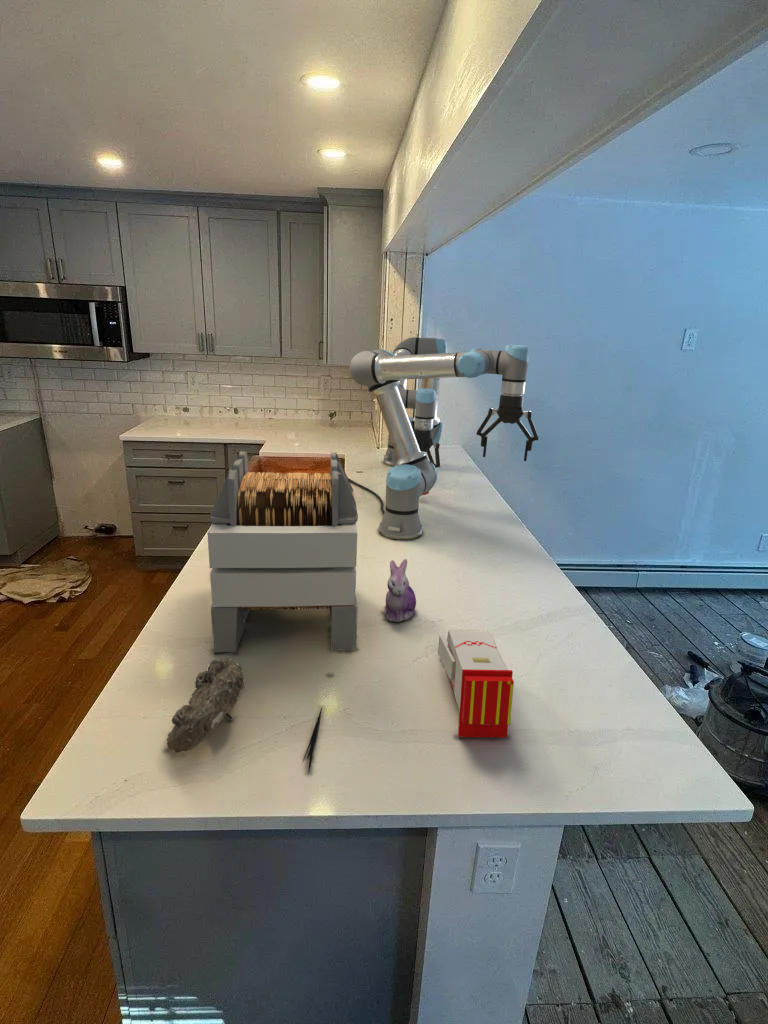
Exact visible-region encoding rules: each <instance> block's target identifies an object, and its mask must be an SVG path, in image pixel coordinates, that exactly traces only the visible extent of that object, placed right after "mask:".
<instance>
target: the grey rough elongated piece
mask: <svg viewBox="0 0 768 1024" xmlns="http://www.w3.org/2000/svg"><path fill="white" fill-rule="evenodd" d="M243 670H244V669H243V667H242V665H240V664H237V662H236V661H235V660H234V659H232V658H231V659H227V658H226V659H224V660H223V661H222V660H217V659H212V660H211V661H210V663H209V665H208V666H207V671H201V672H199V673H198V674H197V675H196V676H195V680H194V684H195V685H194V687H195V689H194V690H193V693H192V694H191V697H190V698H189V700H188V704H184V705H182V706H181V707H180V709H177V710H176V711H175V713H174V715H173V716H172V718H171V723H172V724H173V727H172V730H171V731H170V732H168V734H167V738H166V741H167V742H166V745H167V749H168V750H169V751H173V752H174V753H176V754H178V753H182V752H188V751H189V752H192V751H193V750H195V748H196V747H197V746H199V744H200V743H201V742H203V741H204V740H205V739H206V738H207V737H208V736H209V735H210V734H211V733H212V732H214V730H215V729H217V727H218V726H219V724H220V722H221V721H222V720H223V719H224V718H225V716H226V717H227V719H229V720H233V717H232V715H230V714H229V710H230V709H231V708H234V706H235V704H236V703H237V702H238V699H239V697H240V695H241V693H242V691H243V690H245V689H244V688H245V675H244V671H243Z"/></svg>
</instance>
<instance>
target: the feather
mask: <svg viewBox="0 0 768 1024" xmlns="http://www.w3.org/2000/svg"><path fill="white" fill-rule="evenodd" d="M329 675H330V676H331V675H332V674H331V673H330V674H329ZM322 710H323V707H321V708H320V710H319V713H318V716H317V719H316V723H315V725H314V728H313V731H312V733H311V737H310V739H309V742H308V745H307V748H306V751H305V754H304V757H303V760H302V763H301V767H302V765H303V763H304V761H305V758H308V759H309V760H308V762H307V763H308V764H307V766H308V771H310V770H311V766H312V765H311V764H312V760H313V757H315V756H314V755H315V751H316V749H315V746H317V739H318V733H319V729H320V722H321V717H322V712H323V711H322ZM313 754H314V755H313ZM306 755H307V757H306Z"/></svg>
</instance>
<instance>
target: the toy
mask: <svg viewBox="0 0 768 1024" xmlns="http://www.w3.org/2000/svg"><path fill="white" fill-rule="evenodd" d="M446 640H447V643H446V641H445V639H444V636H443V635H442V634H439V637H438V646H437V656H438V657H439V659H440V661H441V663H442V666H443V668H444V670H445V672H446V674H447V677H448V679H449V681H450V684H451V687H452V690H453V693H454V697H455V701H456V705H457V708H458V711H459V714H458V715H459V716H458V730H457V731H458V732H457V737H458V738H508V731H509V726H510V725H511V717H512V707H513V697H514V696H513V695H514V684H515V680H514V679H513V673H514V671H513V670H512V669H508V667H507V665H506V662H505V661H504V659H503V658H502V655H501V653H500V651H499V649H498V647H497V643H496V639H495V637H494V635H493V634H491V632H490V631H489V629H467V628H466V629H465V628H463V629H461V628H460V629H459V628H448V630H447V639H446Z"/></svg>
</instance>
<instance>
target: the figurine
mask: <svg viewBox="0 0 768 1024" xmlns="http://www.w3.org/2000/svg"><path fill="white" fill-rule="evenodd" d="M407 567H408V559H406V558H404V559H403V560H402V561H401V563H400V565H399V566H398V565H397V563H396V562H395V561H394V560H393V559H391V560H390V561H389V570H390V576H389V578H388V579H387V589H388V591H387V592H386V594H385V595H386V596H385V607H384V615H385V616H386V620H387V621H391V622H395V623H400V622H402V621H406V620H409V619H410V618H411V617H413V616H414V615H415V610H416V606H417V597H416V593H415V591H414V590H413V587H411V586H410V582H409V579H408V577H407V574H406V571H407Z"/></svg>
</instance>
